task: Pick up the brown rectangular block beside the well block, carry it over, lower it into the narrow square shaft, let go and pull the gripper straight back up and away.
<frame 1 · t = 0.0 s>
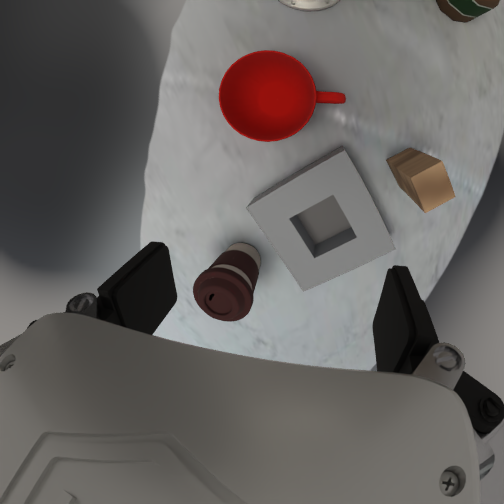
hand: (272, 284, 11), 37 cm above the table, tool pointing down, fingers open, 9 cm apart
beer bottle: (451, 6, 22), on the table
well block: (323, 216, 47), on the table
ceramic cup: (289, 99, 40), on the table
coffee cup: (243, 257, 56), on the table
brown rectangular block: (404, 166, 40), on the table
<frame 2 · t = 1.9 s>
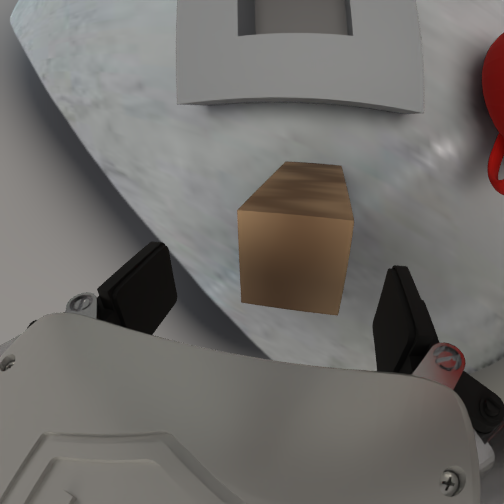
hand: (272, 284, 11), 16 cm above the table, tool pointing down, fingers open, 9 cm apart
well block: (300, 13, 17), on the table
ceramic cup: (499, 111, 15), on the table
brown rectangular block: (312, 190, 25), on the table
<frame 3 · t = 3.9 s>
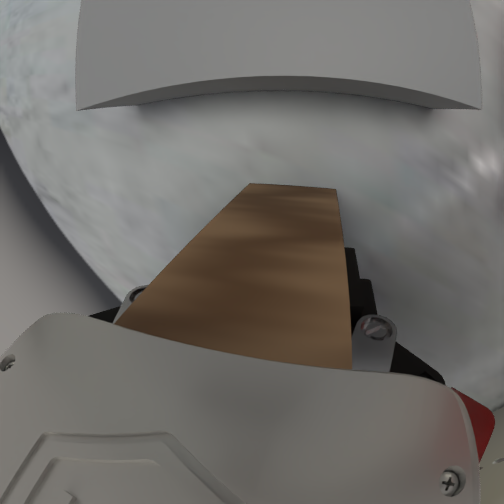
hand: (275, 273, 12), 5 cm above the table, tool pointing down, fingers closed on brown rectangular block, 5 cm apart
brown rectangular block: (290, 225, 17), on the table, touching gripper
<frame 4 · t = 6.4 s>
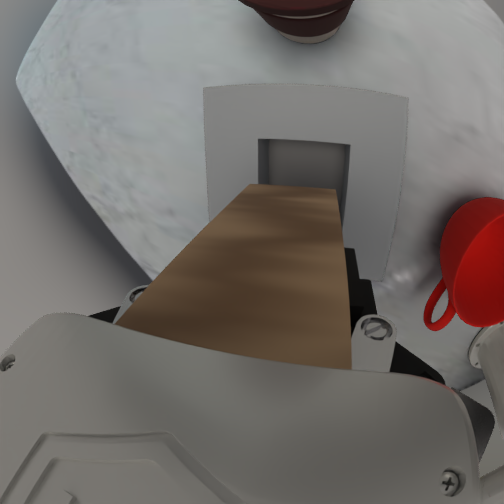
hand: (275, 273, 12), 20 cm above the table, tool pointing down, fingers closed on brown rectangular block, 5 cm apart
well block: (306, 173, 28), on the table
ceramic cup: (456, 243, 27), on the table
coffee cup: (306, 17, 20), on the table
brown rectangular block: (290, 226, 17), point 14 cm above the table, touching gripper
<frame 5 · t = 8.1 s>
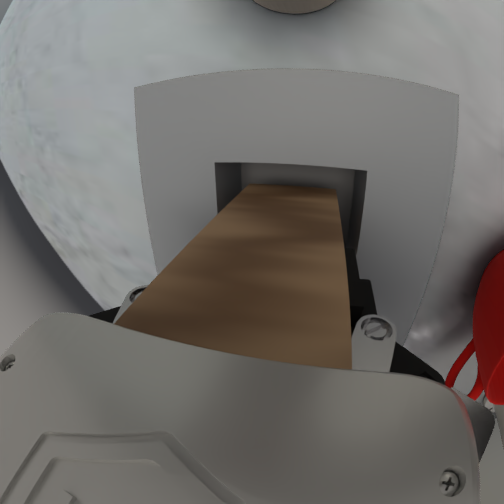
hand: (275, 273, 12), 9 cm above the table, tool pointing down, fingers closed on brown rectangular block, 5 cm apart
well block: (296, 205, 20), on the table
ceramic cup: (490, 290, 19), on the table
brown rectangular block: (290, 226, 17), point 4 cm above the table, touching gripper
when the fingers open (8 cm above the table, at t = 9.2 s): brown rectangular block drops 2 cm, resting on well block.
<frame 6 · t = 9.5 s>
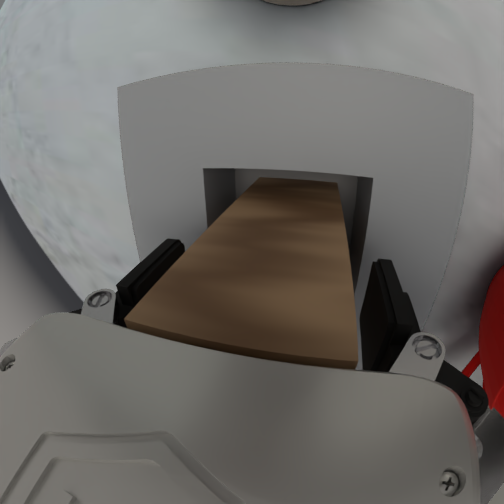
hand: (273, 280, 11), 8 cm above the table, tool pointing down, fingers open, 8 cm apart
well block: (294, 213, 19), on the table
ceramic cup: (497, 300, 17), on the table
brown rectangular block: (296, 215, 18), resting on well block
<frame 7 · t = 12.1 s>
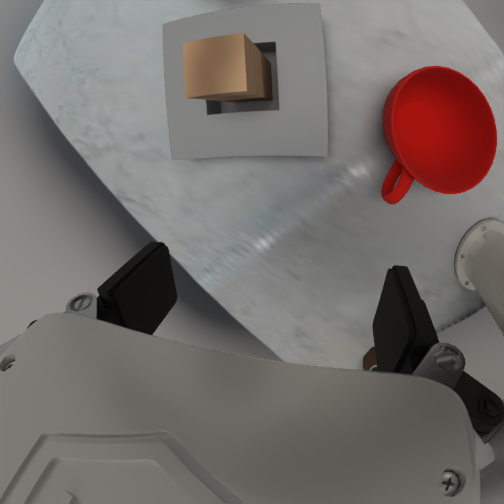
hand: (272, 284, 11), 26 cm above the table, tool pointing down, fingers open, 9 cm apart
well block: (251, 82, 30), on the table
ceramic cup: (408, 135, 29), on the table
brown rectangular block: (251, 82, 29), resting on well block
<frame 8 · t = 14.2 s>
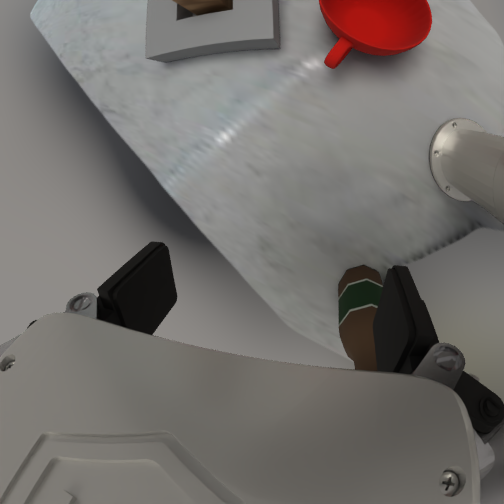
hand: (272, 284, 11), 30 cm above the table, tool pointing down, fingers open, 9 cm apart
beer bottle: (360, 283, 44), on the table
well block: (218, 4, 28), on the table
ceramic cup: (358, 34, 27), on the table
brown rectangular block: (218, 3, 28), resting on well block
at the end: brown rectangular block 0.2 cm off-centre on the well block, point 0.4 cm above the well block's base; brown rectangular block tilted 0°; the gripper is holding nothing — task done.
